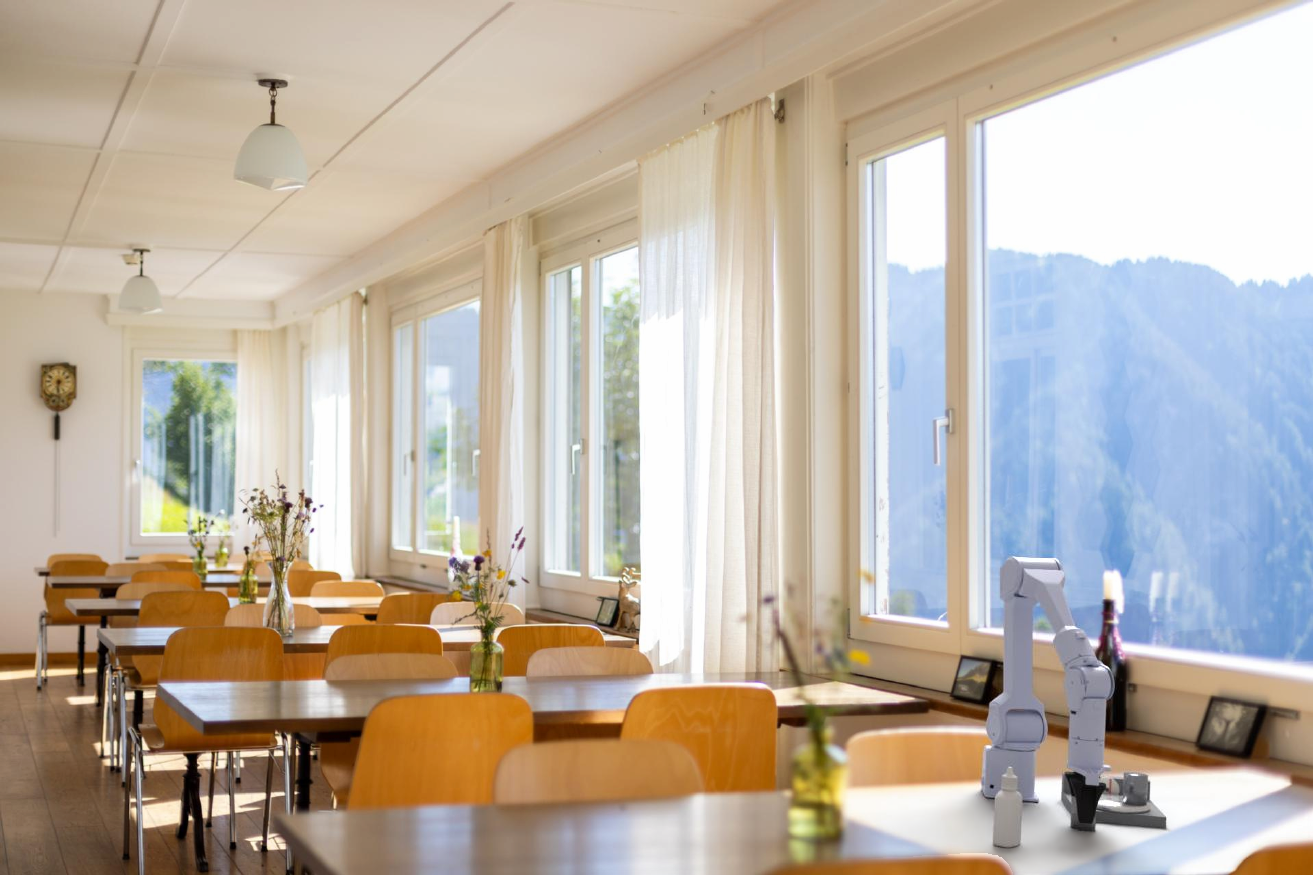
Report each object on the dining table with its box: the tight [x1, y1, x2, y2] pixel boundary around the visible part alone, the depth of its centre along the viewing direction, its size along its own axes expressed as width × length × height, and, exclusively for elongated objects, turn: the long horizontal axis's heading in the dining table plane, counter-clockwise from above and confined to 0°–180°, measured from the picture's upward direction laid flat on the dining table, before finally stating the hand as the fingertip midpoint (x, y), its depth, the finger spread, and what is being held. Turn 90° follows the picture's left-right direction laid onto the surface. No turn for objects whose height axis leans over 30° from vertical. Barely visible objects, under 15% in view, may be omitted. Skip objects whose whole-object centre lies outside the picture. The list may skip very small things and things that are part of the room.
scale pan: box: [1097, 793, 1150, 814], centre depth 229 cm, size 12×12×1 cm
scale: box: [1060, 771, 1167, 829], centre depth 230 cm, size 15×15×5 cm
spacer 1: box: [1069, 795, 1097, 832], centre depth 219 cm, size 4×4×5 cm
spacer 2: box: [1123, 771, 1149, 806], centre depth 228 cm, size 4×4×5 cm
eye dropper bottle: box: [992, 767, 1023, 849], centre depth 206 cm, size 4×6×12 cm
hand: (1083, 819), depth 219 cm, fingers closed on spacer 1, 4 cm apart
